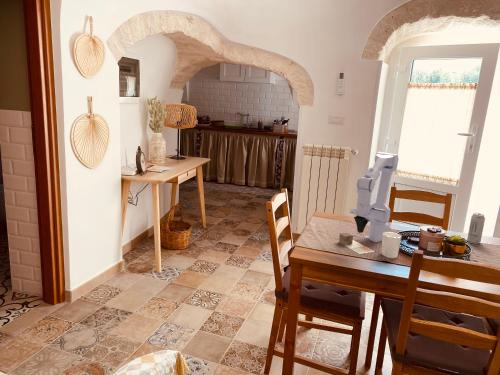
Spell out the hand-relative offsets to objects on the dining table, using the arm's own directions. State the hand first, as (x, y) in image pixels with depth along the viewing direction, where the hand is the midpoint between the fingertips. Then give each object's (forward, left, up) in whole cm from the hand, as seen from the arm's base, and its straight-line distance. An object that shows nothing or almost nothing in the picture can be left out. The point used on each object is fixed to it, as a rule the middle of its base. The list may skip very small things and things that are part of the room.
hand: (360, 232), depth 174 cm
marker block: (0, -10, -9) cm, 13 cm away
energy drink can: (-68, +8, -10) cm, 69 cm away
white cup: (-11, +8, -10) cm, 17 cm away
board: (-2, -5, -9) cm, 11 cm away
